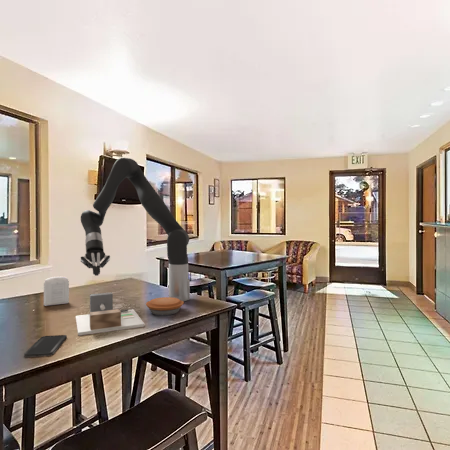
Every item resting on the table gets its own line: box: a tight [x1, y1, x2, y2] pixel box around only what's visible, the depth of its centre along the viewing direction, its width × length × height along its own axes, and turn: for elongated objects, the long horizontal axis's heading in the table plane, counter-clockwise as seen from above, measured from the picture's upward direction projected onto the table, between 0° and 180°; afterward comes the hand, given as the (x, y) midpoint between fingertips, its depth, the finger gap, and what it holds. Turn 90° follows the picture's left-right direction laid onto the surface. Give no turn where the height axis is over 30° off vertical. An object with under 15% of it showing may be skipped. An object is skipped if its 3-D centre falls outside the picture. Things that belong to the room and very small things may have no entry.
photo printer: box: [43, 276, 70, 307], centre depth 154 cm, size 10×4×12 cm, turn 123°
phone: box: [23, 334, 68, 358], centre depth 104 cm, size 8×1×15 cm
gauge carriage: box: [89, 292, 129, 313], centre depth 132 cm, size 14×7×8 cm, turn 115°
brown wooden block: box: [89, 308, 121, 330], centre depth 120 cm, size 10×4×5 cm, turn 115°
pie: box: [145, 296, 185, 316], centre depth 143 cm, size 15×16×5 cm
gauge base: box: [75, 308, 145, 336], centre depth 128 cm, size 22×21×1 cm
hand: (96, 274), depth 148 cm, fingers closed
